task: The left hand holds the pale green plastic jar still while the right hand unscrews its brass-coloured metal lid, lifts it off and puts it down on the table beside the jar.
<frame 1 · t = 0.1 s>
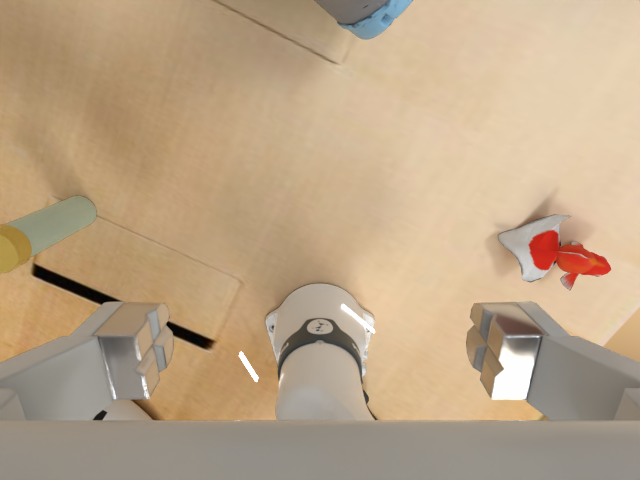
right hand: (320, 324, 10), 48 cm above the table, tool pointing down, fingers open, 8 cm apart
fish: (537, 244, 61), on the table
jar: (81, 210, 59), on the table
white slotted dome: (134, 431, 75), on the table
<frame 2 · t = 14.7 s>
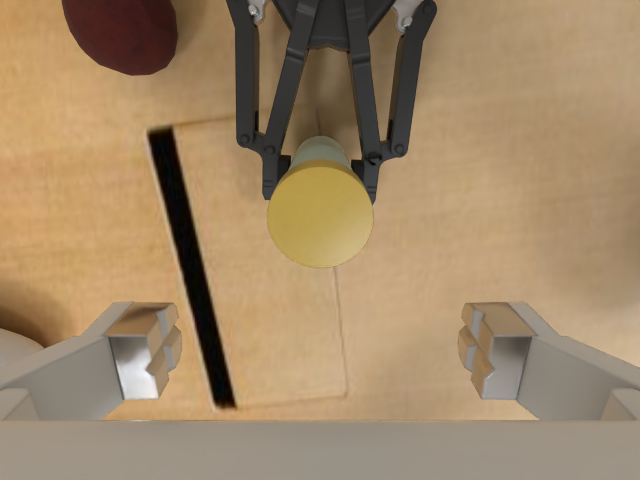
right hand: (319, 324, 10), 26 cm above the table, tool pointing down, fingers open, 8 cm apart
left hand: (316, 240, 31), fingers closed on jar, 5 cm apart
jar: (320, 162, 34), on the table, touching left hand
lid: (320, 217, 19), point 17 cm above the table, screwed on, not yet turned
potato: (145, 28, 31), on the table
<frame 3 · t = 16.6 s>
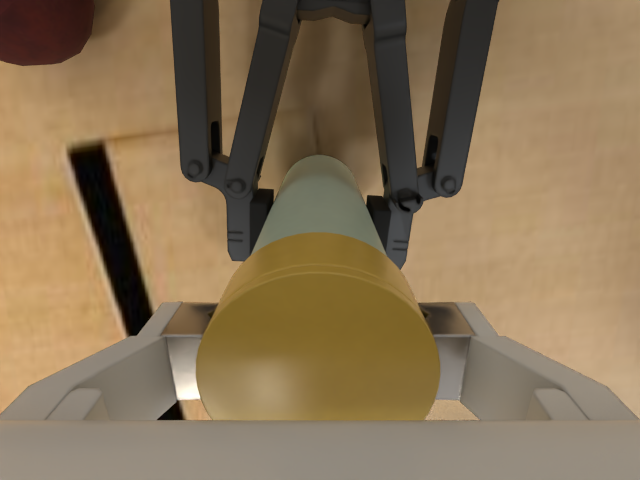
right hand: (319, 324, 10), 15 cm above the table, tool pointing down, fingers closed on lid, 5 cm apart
left hand: (313, 316, 20), fingers closed on jar, 5 cm apart
jar: (319, 192, 24), on the table, touching left hand
lid: (318, 371, 8), point 17 cm above the table, screwed on, not yet turned, touching right hand
when the right hand's fingers open (15 cm above the table, at t = 17.9 s): lid stays where it is, point 17 cm above the table.
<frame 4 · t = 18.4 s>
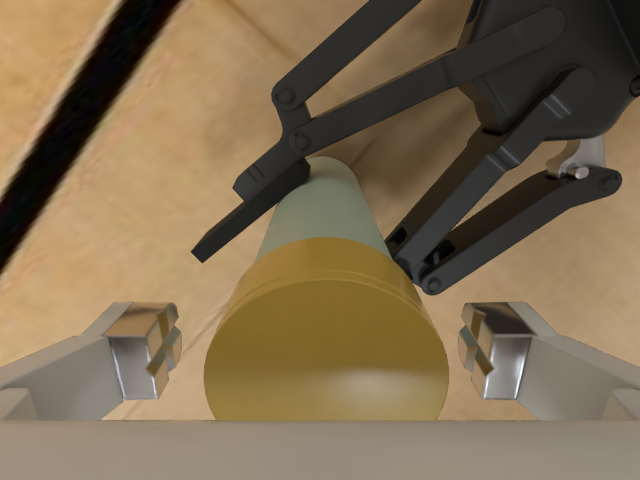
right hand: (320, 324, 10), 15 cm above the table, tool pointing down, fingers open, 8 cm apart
left hand: (243, 284, 20), fingers closed on jar, 5 cm apart
jar: (321, 194, 24), on the table, touching left hand
lid: (326, 376, 8), point 17 cm above the table, turned 70° so far, risen 0.2 cm, still on its thread
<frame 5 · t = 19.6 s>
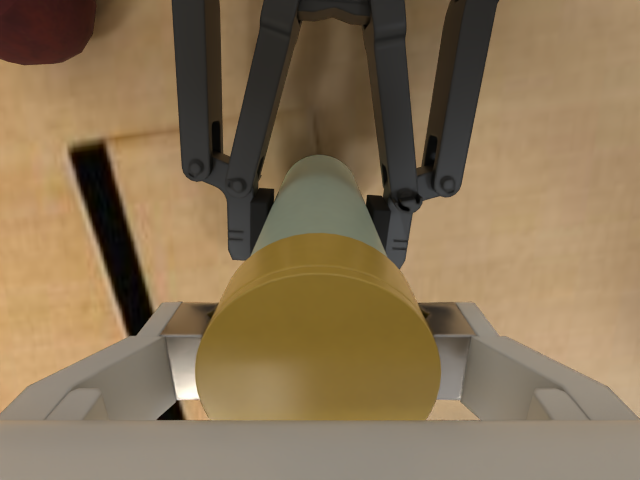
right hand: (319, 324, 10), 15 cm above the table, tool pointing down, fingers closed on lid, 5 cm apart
left hand: (312, 315, 20), fingers closed on jar, 5 cm apart
jar: (319, 192, 24), on the table, touching left hand
lid: (318, 372, 8), point 17 cm above the table, turned 70° so far, risen 0.2 cm, still on its thread, touching right hand
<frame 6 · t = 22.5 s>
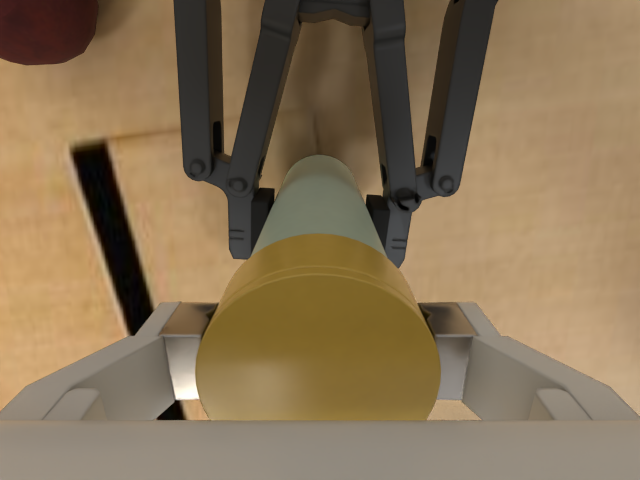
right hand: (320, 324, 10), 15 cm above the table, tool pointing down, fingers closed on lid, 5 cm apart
left hand: (312, 314, 20), fingers closed on jar, 5 cm apart
jar: (319, 192, 24), on the table, touching left hand
lid: (318, 373, 8), point 17 cm above the table, turned 140° so far, risen 0.3 cm, still on its thread, touching right hand
when the right hand's fingers open (2 cm above the table, at t = 29.3 s): lid drops 2 cm, point 2 cm above the table.
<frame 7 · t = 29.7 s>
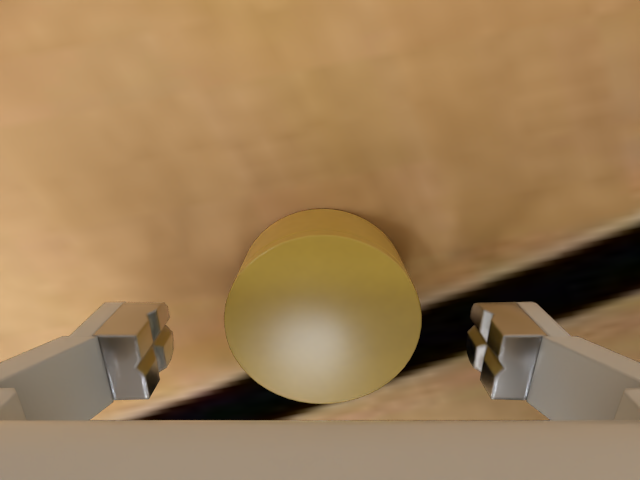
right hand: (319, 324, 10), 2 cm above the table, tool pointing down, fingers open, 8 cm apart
lid: (322, 320, 10), point 2 cm above the table, off its thread
when the left hand's fingers open (6 cm above the table, at t = 30.2 s): jar stays where it is, on the table.
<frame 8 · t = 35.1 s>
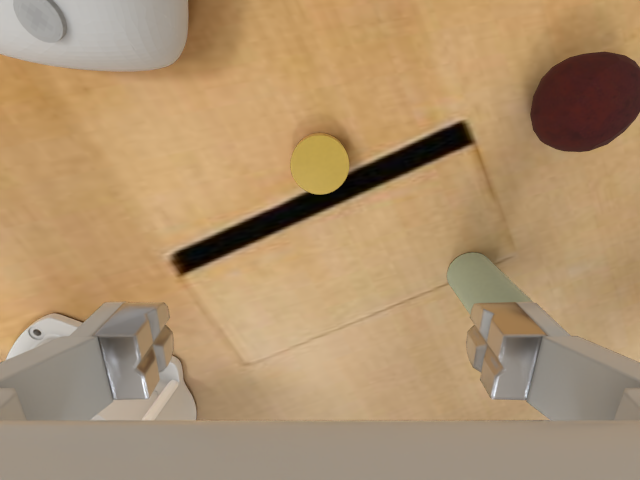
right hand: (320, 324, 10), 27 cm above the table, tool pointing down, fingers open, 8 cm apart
jar: (469, 272, 40), on the table
lid: (319, 165, 34), point 2 cm above the table, off its thread
potato: (556, 102, 34), on the table
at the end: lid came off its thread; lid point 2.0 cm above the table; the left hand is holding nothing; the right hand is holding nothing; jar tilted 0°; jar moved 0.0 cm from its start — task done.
